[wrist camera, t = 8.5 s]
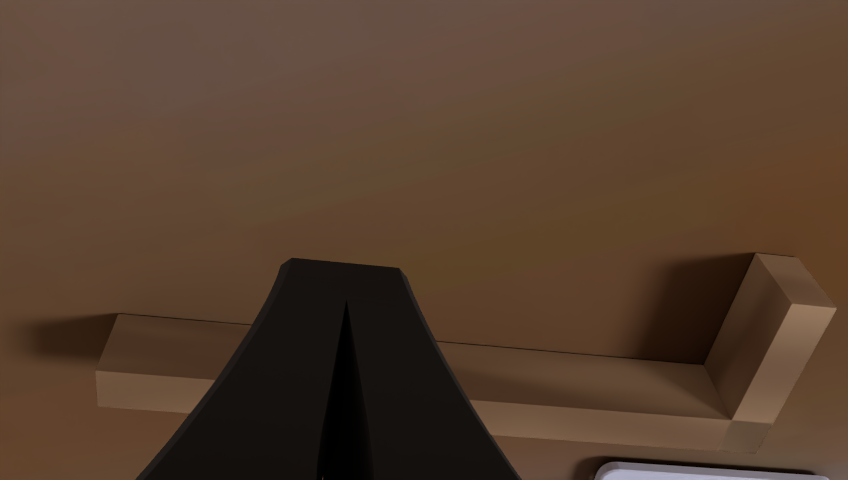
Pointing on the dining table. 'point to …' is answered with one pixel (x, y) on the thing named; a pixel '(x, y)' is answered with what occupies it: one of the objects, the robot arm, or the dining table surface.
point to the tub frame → (547, 373)
